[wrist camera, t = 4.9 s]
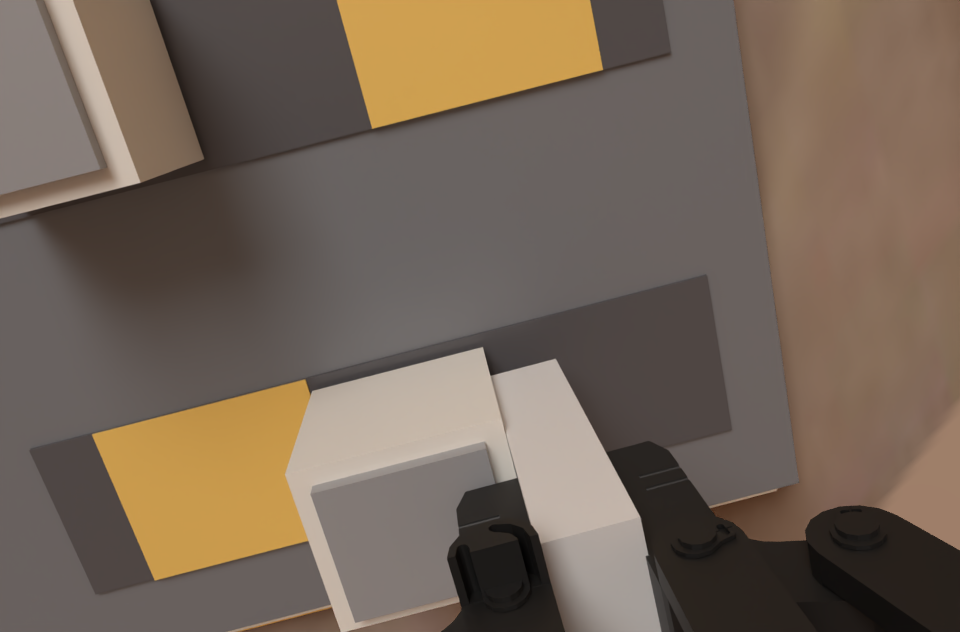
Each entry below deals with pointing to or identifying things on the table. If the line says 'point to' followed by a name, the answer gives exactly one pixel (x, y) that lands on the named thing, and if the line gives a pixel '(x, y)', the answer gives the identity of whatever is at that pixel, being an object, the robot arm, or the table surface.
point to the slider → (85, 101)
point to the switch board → (376, 282)
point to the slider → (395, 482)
